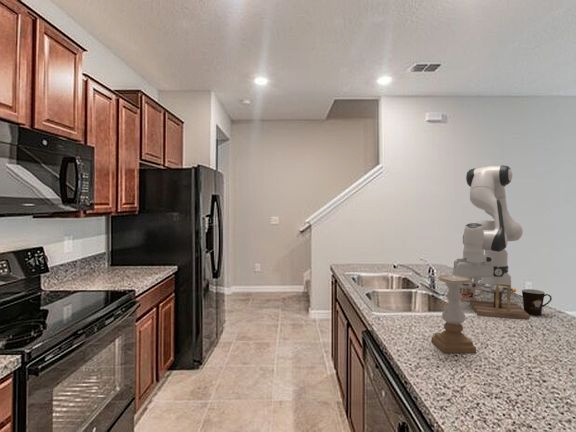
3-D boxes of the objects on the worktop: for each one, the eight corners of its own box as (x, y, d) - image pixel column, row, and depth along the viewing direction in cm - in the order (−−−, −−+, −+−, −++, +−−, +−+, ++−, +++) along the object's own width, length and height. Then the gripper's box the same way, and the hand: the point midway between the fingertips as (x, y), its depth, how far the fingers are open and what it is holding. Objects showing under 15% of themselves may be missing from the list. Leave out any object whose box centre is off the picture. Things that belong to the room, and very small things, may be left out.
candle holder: (461, 341, 140) (462, 274, 139) (476, 353, 129) (478, 280, 128) (430, 341, 140) (432, 274, 139) (444, 353, 129) (445, 281, 128)
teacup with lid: (455, 300, 198) (455, 277, 197) (456, 296, 206) (457, 274, 205) (482, 303, 192) (482, 279, 192) (482, 299, 201) (482, 276, 200)
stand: (469, 304, 191) (470, 274, 190) (515, 307, 185) (516, 277, 185) (477, 315, 172) (478, 283, 171) (529, 319, 166) (530, 285, 166)
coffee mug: (521, 314, 173) (522, 292, 173) (520, 309, 181) (521, 288, 180) (553, 318, 168) (554, 295, 167) (550, 313, 175) (551, 291, 175)
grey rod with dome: (471, 286, 187) (471, 281, 187) (478, 285, 190) (478, 280, 189) (511, 295, 170) (511, 289, 170) (519, 293, 172) (519, 288, 172)
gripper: (458, 259, 179) (458, 289, 180) (496, 258, 184) (495, 287, 185) (449, 257, 185) (449, 286, 186) (486, 256, 190) (485, 284, 191)
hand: (472, 287), depth 185 cm, fingers closed
